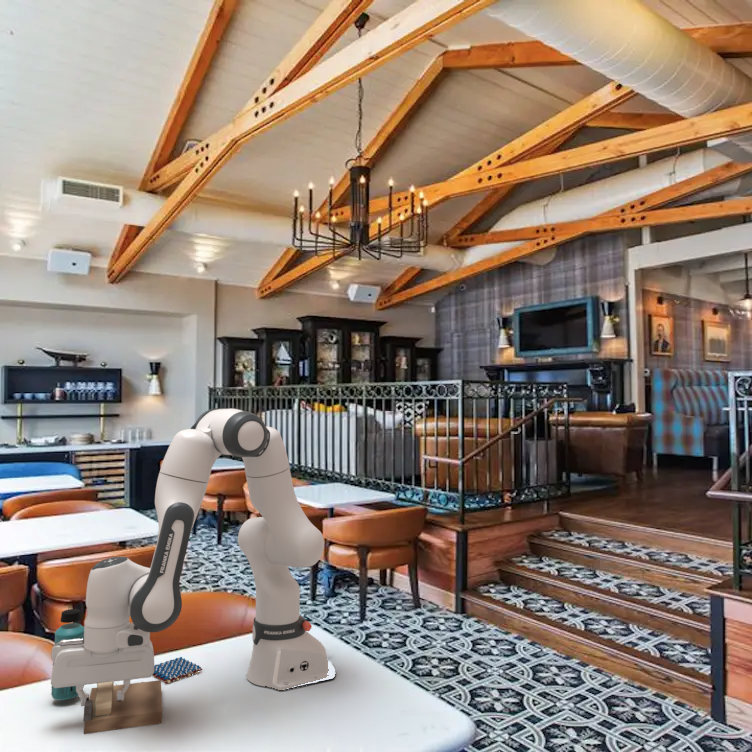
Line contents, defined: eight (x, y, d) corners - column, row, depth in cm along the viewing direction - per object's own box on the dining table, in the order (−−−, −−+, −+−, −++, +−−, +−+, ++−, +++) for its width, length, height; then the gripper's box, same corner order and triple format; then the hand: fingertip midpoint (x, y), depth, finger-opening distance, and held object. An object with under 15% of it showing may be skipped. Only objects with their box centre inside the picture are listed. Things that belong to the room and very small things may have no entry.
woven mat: (204, 674, 156) (204, 666, 156) (166, 687, 148) (167, 678, 148) (181, 662, 163) (181, 655, 163) (144, 674, 155) (144, 666, 155)
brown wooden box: (160, 691, 145) (161, 667, 145) (161, 723, 130) (163, 696, 130) (90, 699, 140) (91, 674, 140) (82, 734, 125) (84, 706, 125)
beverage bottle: (69, 709, 135) (74, 616, 136) (42, 705, 136) (48, 613, 138) (88, 696, 142) (93, 607, 143) (63, 692, 143) (68, 605, 144)
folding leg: (97, 688, 139) (97, 674, 139) (113, 686, 141) (114, 673, 141) (94, 716, 127) (95, 701, 127) (112, 713, 128) (112, 698, 128)
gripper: (49, 646, 125) (45, 716, 124) (156, 636, 132) (153, 702, 131) (54, 635, 131) (50, 702, 130) (156, 626, 138) (152, 690, 137)
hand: (102, 702), depth 130 cm, fingers open, 5 cm apart
